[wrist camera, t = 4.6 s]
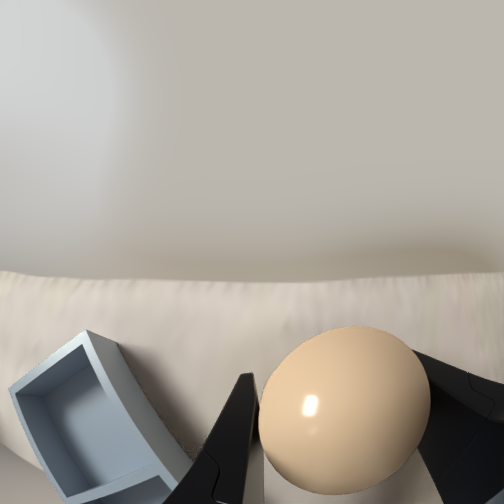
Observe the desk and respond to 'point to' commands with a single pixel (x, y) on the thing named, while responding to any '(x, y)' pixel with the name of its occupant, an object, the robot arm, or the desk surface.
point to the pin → (344, 410)
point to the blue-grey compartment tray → (97, 427)
